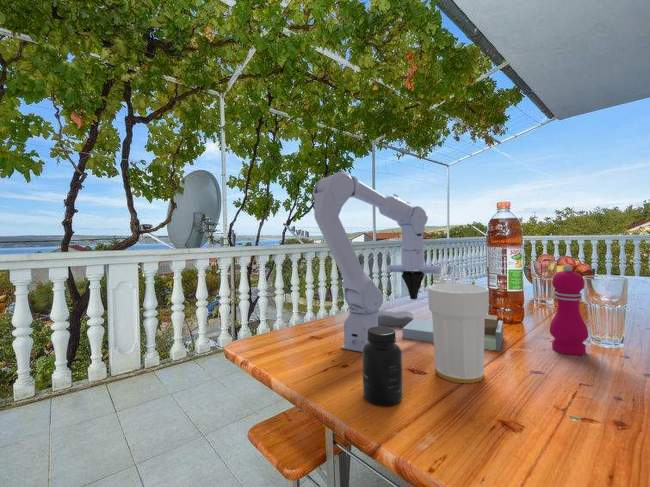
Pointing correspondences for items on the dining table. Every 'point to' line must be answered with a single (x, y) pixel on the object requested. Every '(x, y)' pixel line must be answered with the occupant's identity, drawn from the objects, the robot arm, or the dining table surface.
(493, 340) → the board
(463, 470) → the dining table surface
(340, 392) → the dining table surface
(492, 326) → the walnut cube
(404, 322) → the stone block
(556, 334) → the pepper mill
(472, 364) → the cup
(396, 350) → the supplement bottle
